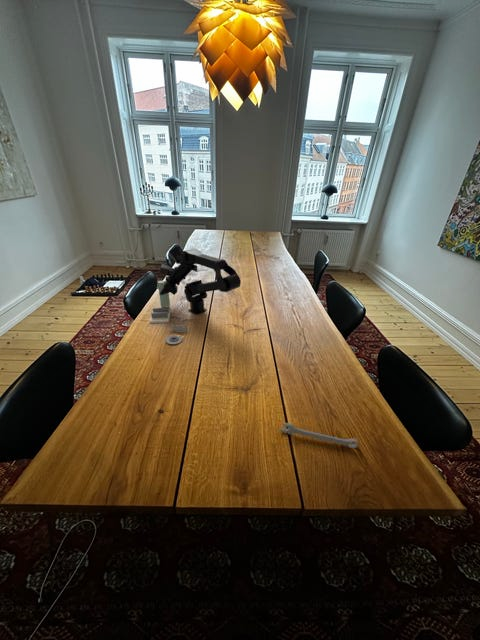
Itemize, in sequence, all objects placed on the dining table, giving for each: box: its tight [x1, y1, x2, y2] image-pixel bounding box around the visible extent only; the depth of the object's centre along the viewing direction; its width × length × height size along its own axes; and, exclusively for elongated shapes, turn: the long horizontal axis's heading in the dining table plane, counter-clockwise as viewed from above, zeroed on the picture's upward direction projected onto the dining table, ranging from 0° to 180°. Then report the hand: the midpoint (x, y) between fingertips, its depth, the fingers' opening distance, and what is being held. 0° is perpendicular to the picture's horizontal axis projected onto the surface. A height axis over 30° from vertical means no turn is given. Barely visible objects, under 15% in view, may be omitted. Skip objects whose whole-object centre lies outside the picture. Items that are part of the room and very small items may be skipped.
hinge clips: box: [149, 307, 172, 324], centre depth 117 cm, size 8×10×4 cm
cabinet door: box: [156, 280, 171, 308], centre depth 123 cm, size 5×2×12 cm, turn 98°
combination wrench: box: [278, 422, 359, 449], centre depth 67 cm, size 4×1×20 cm
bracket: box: [165, 324, 188, 345], centre depth 104 cm, size 7×10×4 cm, turn 174°
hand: (160, 293), depth 123 cm, fingers closed on cabinet door, 2 cm apart
